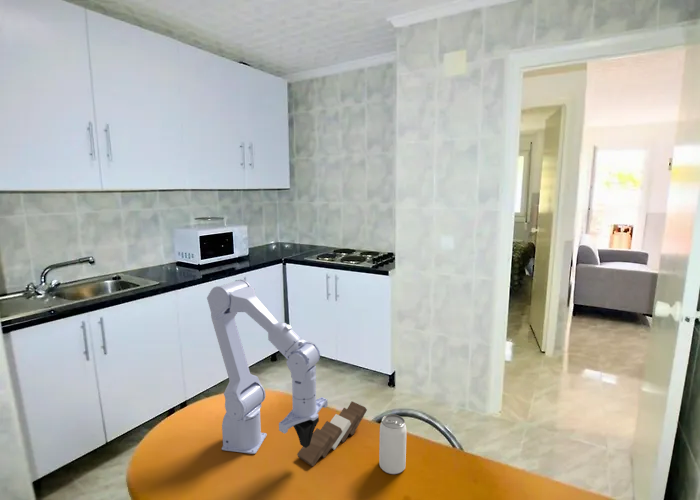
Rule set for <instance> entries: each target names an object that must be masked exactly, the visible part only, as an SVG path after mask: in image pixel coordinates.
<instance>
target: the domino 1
mask: <svg viewBox="0 0 700 500" xmlns="http://www.w3.org/2000/svg"><path fill="white" fill-rule="evenodd" d="M332 440H333V439H332V437H331V435H329V434H327V433H325V432H323V431H321V428H318V427H317V428H315V429H314V431H313V435H312V438H311V442H310V445H309V446H308V447H307V448H305V447H303V446H302V447H301V449H300V450H299V451H298V452H297V454H296V455H297V457H298V458H299V459H300V460H302V461H303V462H305V463H306V464H308V465H309V466H311V467H313V468H314V467H315V465H316V464H317V462H318V461H319V459H320V458H322V457H321V455H322V454H323V452H324V451H325V450H326V448H327V447H328V445H329V444H330V442H331V441H332Z"/></svg>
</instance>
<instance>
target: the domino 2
mask: <svg viewBox="0 0 700 500" xmlns="http://www.w3.org/2000/svg"><path fill="white" fill-rule="evenodd" d="M330 422H331V421H328V420H327V421H326V422H325V423H324V424H323V426H322V427H321V428H320V430H321V431H323V432H325V433H327V434H329V435H331V437H332V439H333V440H332V441H331V442H330V444H329V445H328V447H327V448H326V450H325V451H324V452H323V454H322V455H321V457H320V458H323V459H325V458H326V456H327V455H328V453H330V451H331V450H332V446H333V445H334V443H335V442H336V441H337V439H338V438H339V436H340V435H341V433H342V430H341V428H340V427H338V426H336V425H334V424H332V423H330Z"/></svg>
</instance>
